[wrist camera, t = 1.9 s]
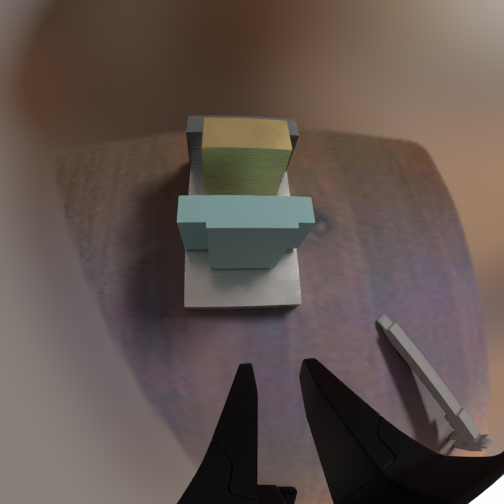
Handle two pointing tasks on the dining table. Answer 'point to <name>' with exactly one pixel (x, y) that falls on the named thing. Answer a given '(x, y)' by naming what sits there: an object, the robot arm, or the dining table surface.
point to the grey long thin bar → (436, 390)
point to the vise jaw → (244, 227)
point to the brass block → (244, 155)
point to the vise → (236, 279)
